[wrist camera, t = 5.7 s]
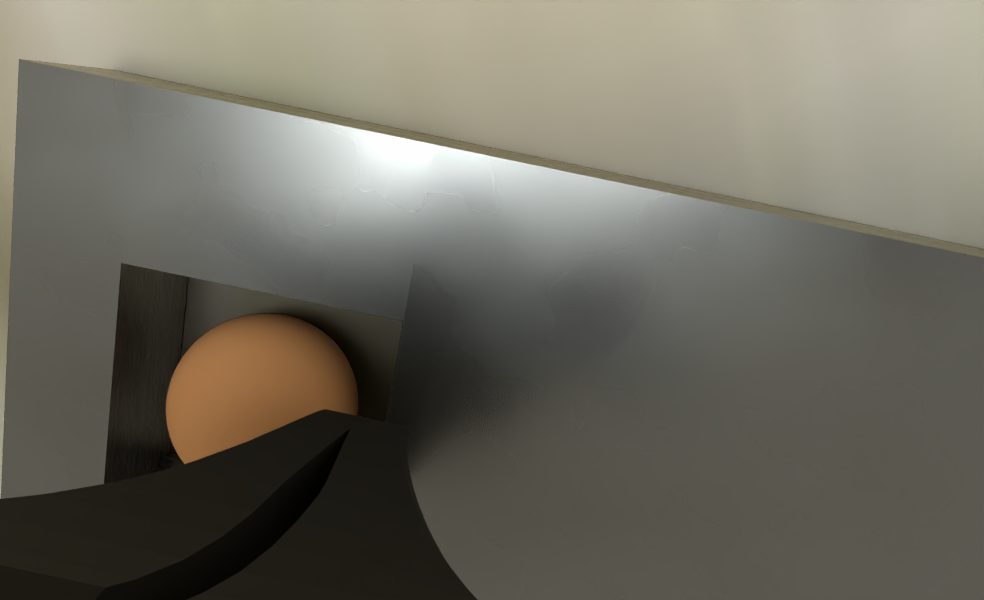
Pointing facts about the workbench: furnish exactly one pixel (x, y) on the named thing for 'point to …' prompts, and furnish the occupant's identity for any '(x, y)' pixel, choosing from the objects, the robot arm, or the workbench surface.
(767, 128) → the workbench surface
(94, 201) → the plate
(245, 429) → the ball
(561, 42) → the workbench surface
